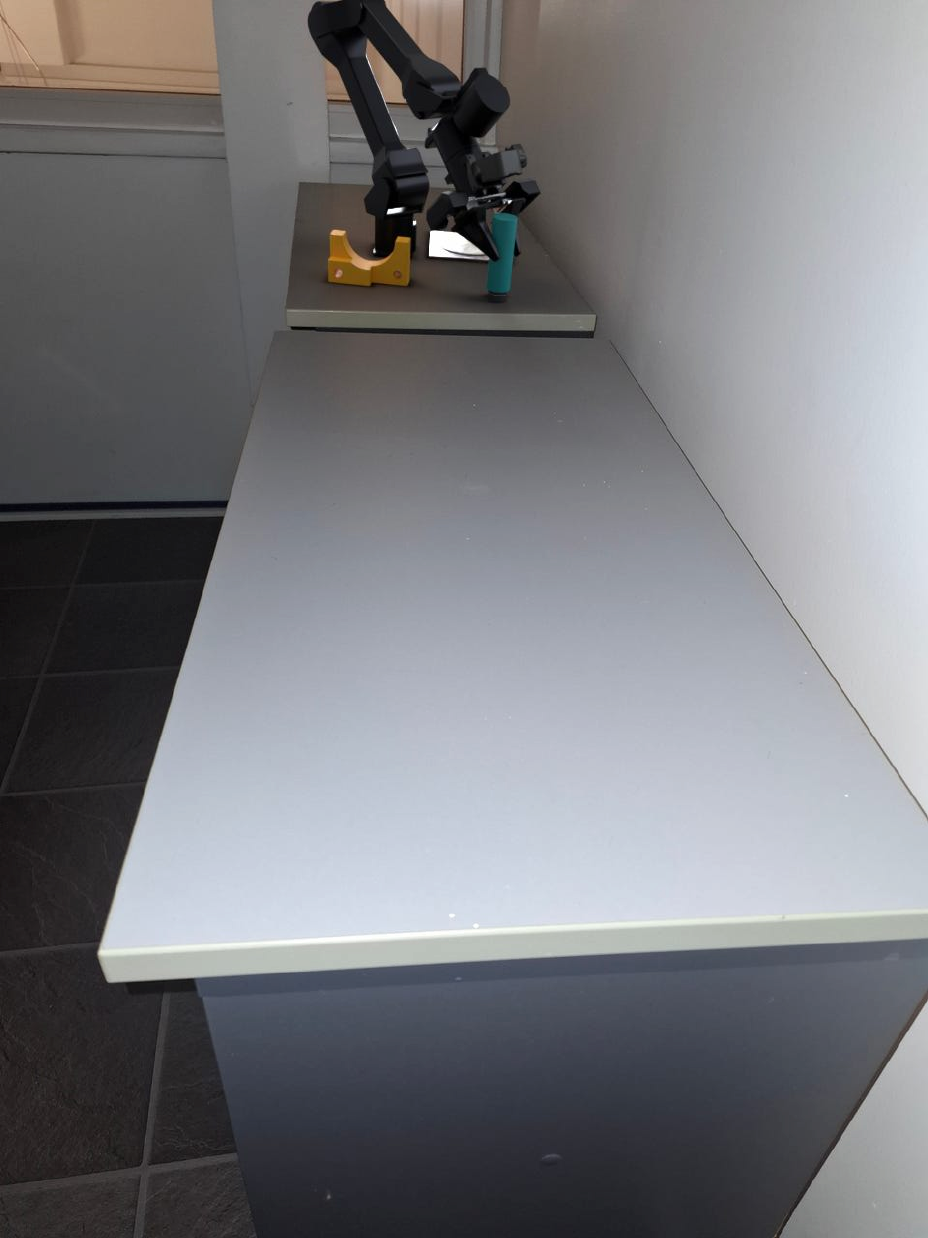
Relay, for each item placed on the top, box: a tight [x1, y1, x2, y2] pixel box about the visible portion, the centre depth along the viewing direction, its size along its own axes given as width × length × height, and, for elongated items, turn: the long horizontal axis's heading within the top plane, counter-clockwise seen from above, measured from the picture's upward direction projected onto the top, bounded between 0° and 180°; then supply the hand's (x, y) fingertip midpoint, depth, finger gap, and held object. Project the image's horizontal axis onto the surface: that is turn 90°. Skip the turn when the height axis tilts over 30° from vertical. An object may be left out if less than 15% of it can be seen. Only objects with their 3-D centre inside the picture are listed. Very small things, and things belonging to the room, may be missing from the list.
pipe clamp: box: [327, 229, 411, 287], centre depth 132 cm, size 12×4×6 cm, turn 84°
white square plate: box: [428, 230, 489, 263], centre depth 150 cm, size 14×14×1 cm
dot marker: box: [486, 213, 517, 304], centre depth 128 cm, size 4×4×12 cm
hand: (508, 257), depth 127 cm, fingers open, 4 cm apart
